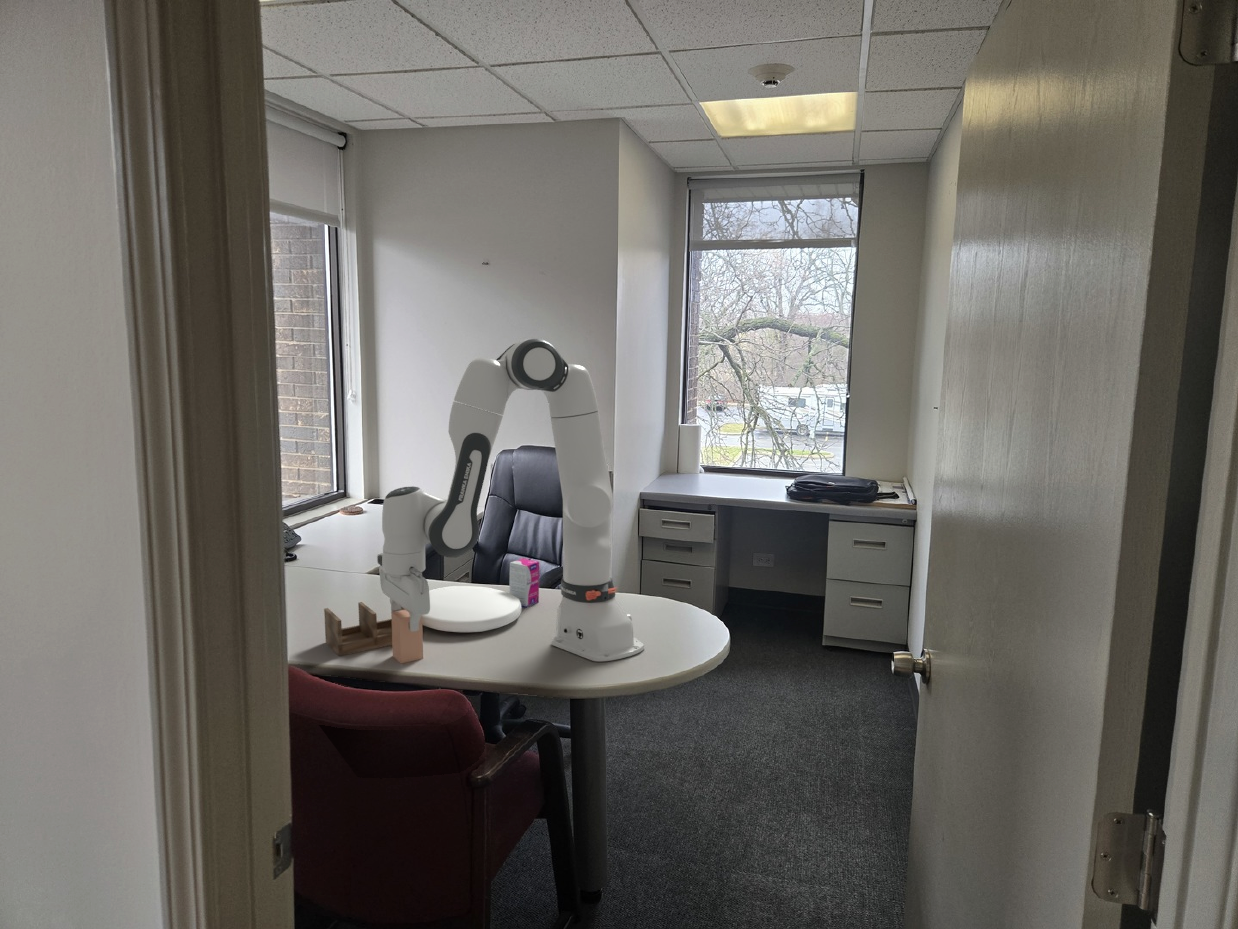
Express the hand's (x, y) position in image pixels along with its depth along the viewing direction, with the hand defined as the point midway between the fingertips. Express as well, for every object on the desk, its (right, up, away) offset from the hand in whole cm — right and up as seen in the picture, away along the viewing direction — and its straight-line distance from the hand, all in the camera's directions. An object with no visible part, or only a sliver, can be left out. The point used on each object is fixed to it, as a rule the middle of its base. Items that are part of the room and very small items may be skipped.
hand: (405, 623), depth 178 cm
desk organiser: (-11, -6, +10) cm, 16 cm away
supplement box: (+22, -2, +38) cm, 44 cm away
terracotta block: (0, -8, +1) cm, 8 cm away
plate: (+8, -4, +26) cm, 28 cm away
